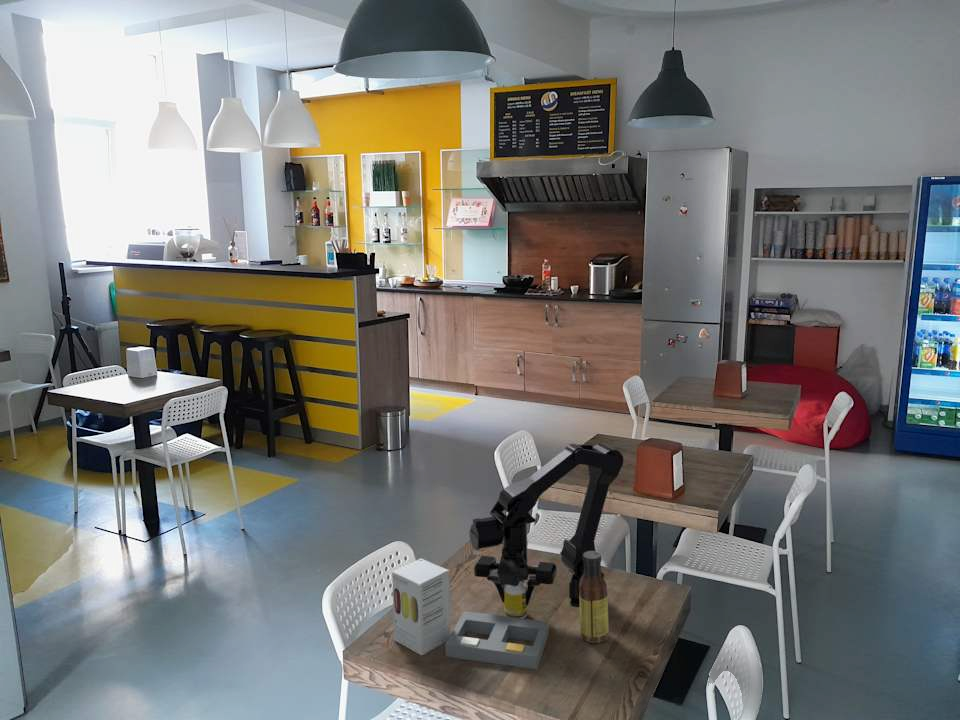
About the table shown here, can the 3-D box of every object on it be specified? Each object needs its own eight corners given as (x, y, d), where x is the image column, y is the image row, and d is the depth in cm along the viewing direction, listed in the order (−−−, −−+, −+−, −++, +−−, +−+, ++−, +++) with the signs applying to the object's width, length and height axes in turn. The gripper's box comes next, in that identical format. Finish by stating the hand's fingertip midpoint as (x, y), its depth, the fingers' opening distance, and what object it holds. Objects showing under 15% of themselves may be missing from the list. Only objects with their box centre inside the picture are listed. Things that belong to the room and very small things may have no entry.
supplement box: (393, 641, 165) (389, 571, 162) (422, 624, 171) (420, 556, 168) (422, 656, 158) (419, 584, 155) (452, 638, 165) (450, 569, 162)
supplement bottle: (525, 621, 171) (525, 582, 169) (502, 620, 172) (501, 581, 171) (528, 610, 176) (528, 572, 175) (506, 608, 178) (505, 570, 176)
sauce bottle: (610, 632, 166) (611, 550, 163) (605, 647, 161) (606, 562, 157) (581, 627, 169) (582, 546, 165) (576, 642, 163) (576, 558, 159)
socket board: (548, 633, 166) (548, 620, 166) (536, 669, 153) (536, 654, 152) (464, 622, 172) (463, 609, 171) (445, 656, 158) (445, 642, 158)
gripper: (466, 552, 166) (468, 615, 169) (548, 560, 161) (548, 625, 164) (479, 532, 176) (481, 592, 179) (556, 539, 171) (556, 601, 174)
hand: (515, 603), depth 174 cm, fingers closed on supplement bottle, 5 cm apart
